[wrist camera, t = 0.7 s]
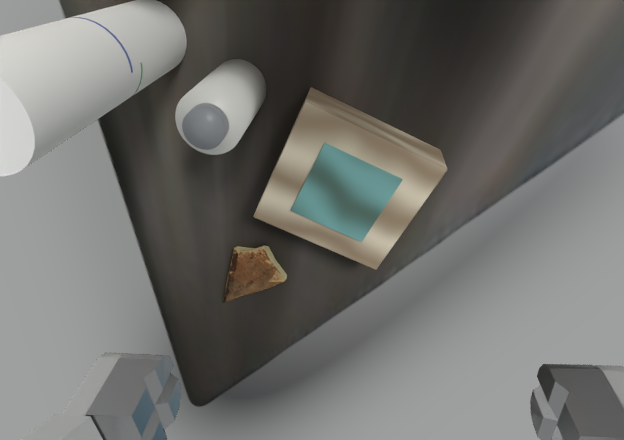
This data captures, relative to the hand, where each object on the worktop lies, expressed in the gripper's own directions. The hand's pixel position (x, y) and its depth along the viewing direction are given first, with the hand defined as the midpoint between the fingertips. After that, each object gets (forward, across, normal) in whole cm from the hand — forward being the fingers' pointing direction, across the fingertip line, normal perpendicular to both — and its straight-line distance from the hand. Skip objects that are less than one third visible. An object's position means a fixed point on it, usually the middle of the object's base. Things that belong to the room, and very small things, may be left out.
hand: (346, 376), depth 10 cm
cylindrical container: (+41, +21, -2) cm, 46 cm away
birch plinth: (+40, +2, +14) cm, 43 cm away
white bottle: (+40, +13, +4) cm, 43 cm away
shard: (+42, +15, +30) cm, 53 cm away
